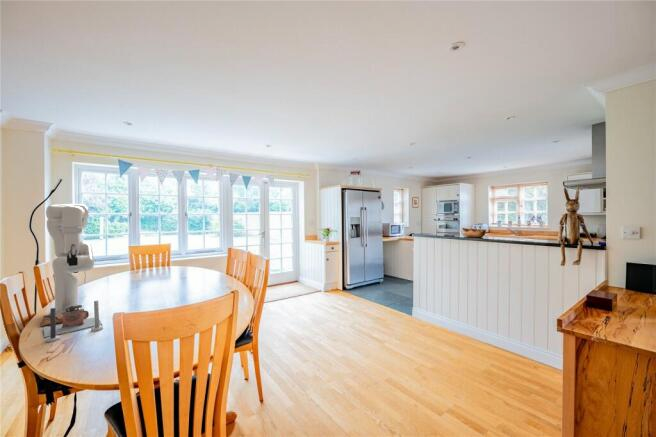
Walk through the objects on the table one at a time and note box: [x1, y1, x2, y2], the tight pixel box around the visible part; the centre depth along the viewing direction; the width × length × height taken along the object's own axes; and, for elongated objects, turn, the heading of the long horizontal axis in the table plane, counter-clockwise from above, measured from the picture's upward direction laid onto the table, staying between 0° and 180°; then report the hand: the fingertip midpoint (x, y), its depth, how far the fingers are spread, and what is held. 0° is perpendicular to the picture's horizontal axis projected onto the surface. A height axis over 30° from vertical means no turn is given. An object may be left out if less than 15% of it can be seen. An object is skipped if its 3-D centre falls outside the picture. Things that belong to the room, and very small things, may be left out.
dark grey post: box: [45, 307, 61, 343], centre depth 120 cm, size 4×4×14 cm
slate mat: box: [43, 316, 103, 339], centre depth 133 cm, size 14×20×1 cm
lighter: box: [62, 304, 85, 328], centre depth 134 cm, size 8×3×10 cm, turn 119°
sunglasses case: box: [38, 310, 90, 328], centre depth 140 cm, size 18×7×7 cm, turn 122°
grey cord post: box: [90, 300, 104, 332], centre depth 131 cm, size 4×4×14 cm
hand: (72, 264), depth 137 cm, fingers open, 9 cm apart
